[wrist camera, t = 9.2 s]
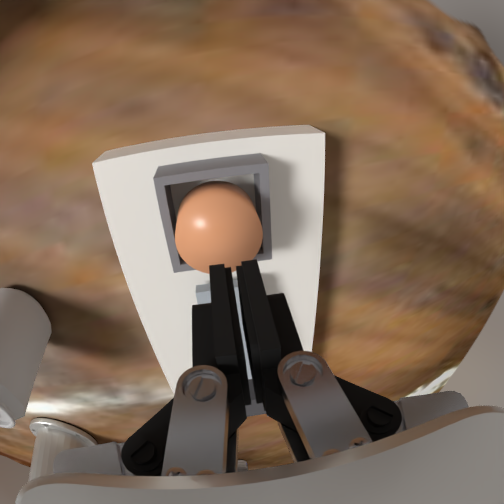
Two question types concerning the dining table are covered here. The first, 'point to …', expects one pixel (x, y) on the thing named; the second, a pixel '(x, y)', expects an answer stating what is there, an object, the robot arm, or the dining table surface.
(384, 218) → the dining table surface
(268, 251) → the panel
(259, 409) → the slider
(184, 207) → the button
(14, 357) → the can
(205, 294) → the slate rocker
